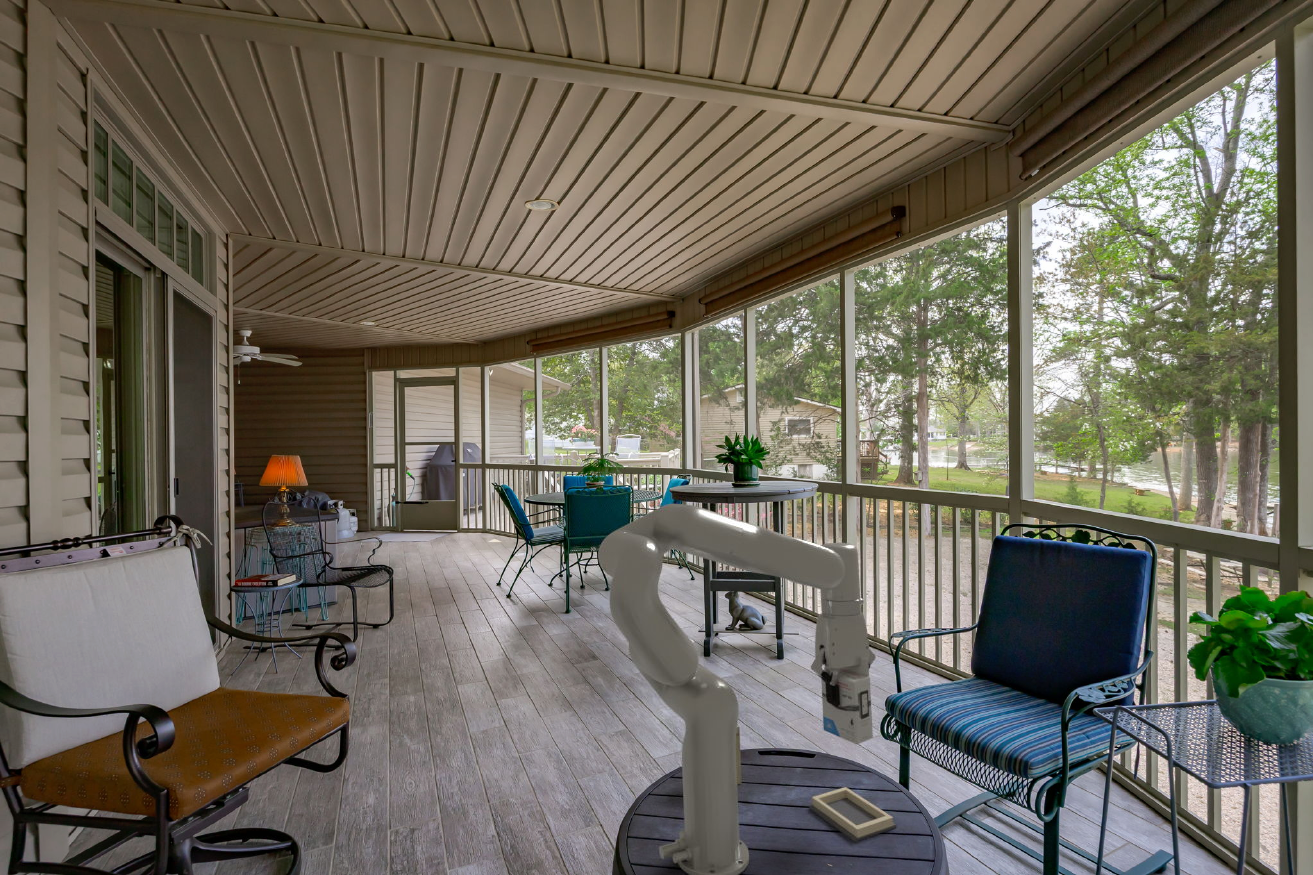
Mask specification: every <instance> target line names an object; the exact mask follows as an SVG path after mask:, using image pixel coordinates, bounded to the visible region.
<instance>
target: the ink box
mask: <svg viewBox="0 0 1313 875" xmlns="http://www.w3.org/2000/svg"><path fill="white" fill-rule="evenodd" d="M868 664H869V663H868V661H867V660H865V659H861V664H860V665H858V666H853V667H848V668H843V669H839V672H838V677H837V682H836V684H837V685H839V695H840V705H839V706H837V707H836V706H834V705H832V704H830V703H828V702H827V699H826V685H825V682H824V681H823V680H822V679H821V678H820V680H821V696H822V697H821V700H822V701H821V702H822V722H823V723H822V724H823V725H822V726H823V731H825V732H827V733H829V734H831V735H834V736H836V737H838V738H841V739H843V740H845V741H848V742H851V743H853V744H854V745H859V744H861V743H864V742H866V741H869V740H870V739H873V737H874V736H873V735H874V734H873V716H872V715H873V714H872V713H873V712H872V711H873V709H872V695H871V694H872V693H871V677H870V669H869V665H868ZM831 672H832V670H831V671H830V676H831Z"/></svg>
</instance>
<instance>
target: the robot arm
mask: <svg viewBox="0 0 1313 875" xmlns="http://www.w3.org/2000/svg"><path fill="white" fill-rule="evenodd" d="M671 550H674V551H675V550H676V551H679V552H681V553H682V552H683V553H686V554H689V555H691V556H695V557H699V558H703V559H705V560H709V561H712V562H716V563H719V564H721V565H722V564H723V565H725V566H729V567H732V568H735V569H739V570H743V571H747V572H751V573H754V574H755V573H756V574H763V575H768V576H773V577H777V578H782V579H785V580H786V581H789V582H791V583H793V584H796V585H797V584H798V585H801V586H806V587H810V588H814V589H816V590H817V589H818V590H819V593H820V607H821V608H820V609H821V610H820V611H821V613H819V614H818V615H817V619H816V626H815V635H814V636H815V637H814V638H815V639H814V640H815V641H814V647H815V648H814V652H815V653H814V655H815V656H814V657H815V659H814V661H813V662H812V663H811V666H810V669H811V671H813V672H814V673H815V674H816V675H817V676H818V677H819V678H820V680H821V679H822V680H823V681H824V682H825V685H826V699H827V702H828V703H830V704H832V705H834V706H836V707H837V706H839V705H840V695H839V685H837V684H836V682H837V677H838V672H839V669H843V668H848V667H853V666H858V665H860V664H861V659H865V660H867V661H868V663H869V664H868V665H869V670H870V669H871V665H872V664H873V663H874V661H875V660H876V655H875V653H874V652H873V651H872V650H871V649H870V642H869V635H868V634H869V633H868V629H867V624H866V619H865V615H864V613H863V612H862V606H863V605H864V603H865V602H864V598H861V588H860V587H861V586H860V585H861V584H860V582H861V581H860V570H859V569H860V568H859V566H860V565H859V551H858V548H857V547H856V546H855V545H854V544H852V543H847V542H830V543H823V544H821V545H819V544H815V543H813V542H810V541H806V540H803V539H800V538H796V537H793V536H790V535H787V534H782V533H780V532H776V531H774V530H771V529H768V528H766V527H764V526H759V525H756V524H752V523H749V522H745V521H744V520H740V519H737V518H734V517H731V516H727V515H724V514H721V513H719V512H715V511H712V510H709V509H707V508H703V507H700V506H697V505H693V504H684V503H683V504H682V503H669V504H665V505H662V506H660V507H657V508H656V509H654V510H652V511H650V512H649V513H646V514H644V515H643V516H641V517H639V518H637V519H635V520H633V521H632V522H629V523H627V524H626V525H624V526H621V527H620V528H618V529H616V530H614V531H612V532H611V533H610V534H608V535H607V536H606V537H605V538H604V539H603V540H602V542H601V544H600V546H599V549H598V552H597V553H598V556H597V557H598V559H597V560H598V562H599V566H600V567H601V569H602V570H603V571H604V572H605V573H606V574H607V575H609V576H610V577H612V580H611V583H610V586H609V587H610V588H609V610H610V614H611V617H612V619H613V621H614V623H615V625H616V627H617V629H618V630H619V631H620V632H621V633H622V635H623V637H624V638H625V639H626V641H627V642H628V652H629V656H630V658H631V661H632V663H633V664H634V666H635V667H636V669H637V670H638V671H639V673H640V674H641V675H642V676H643V678H644V679H645V680H646V681H647V683H648V684H649V685H650V686H651V688H652V689H653V690H654V691H655V693H656V694H657V695H658V696H659V698H660V699H661V700H662V701H663V702H664V704H665V706H667V707H668V708H669V709H670V710H672V712H674V713H675V714H676V715H677V716H679V717H680V718H681V719H682V720H683V721H684V724H685V731H684V736H683V740H682V746H681V769H682V793H683V794H682V795H683V796H682V797H683V820H684V823H683V824H684V829H683V830H680V831H679V838H677V839H675V840H674V842H671V843H667V844H662V845H659V847H658V850H659V856H660V858H661V859H662V860H664V859H669V858H671V857H672V861H673V863H674V864H678V866H679V868H681V870H682V871H683V872H684V873H686V874H687V875H740V874H741V873H743V872H744V871H745V870H746V868H747V867H748V865H749V863H750V852H749V848H748V846H747V845H746V844H745V842H744V841H742V840H741V839H740V822H739V802H738V801H739V799H738V798H739V796H738V784H737V772H736V730H737V724H738V722H739V714H740V713H739V708H740V707H739V700H738V697H737V695H736V692H735V691H734V689H733V688H732V687H731V685H730V684H729V683H728V682H727V681H726V680H724V679H723V678H721V677H720V676H718V675H716V674H715V673H714V672H712V671H710V670H708V669H706V668H704V666H703V667H702V666H701V665H700V664H699V662H700V661H699V654H698V651H697V648H696V646H695V645H694V643H693V641H692V640H691V639H690V637H689V636H688V635H687V634H686V633H685V632H684V630H683V629H682V628H681V627H680V625H679V623H677V621H676V620H675V619H674V618H673V616H672V615H671V613H669V611H668V610H667V608H666V606H665V605H664V604H663V602H662V601H661V599H660V596H659V590H658V589H659V583H660V582H659V581H660V577H661V574H662V571H663V570H662V569H663V563H664V562H663V559H664V558H663V555H664V554H666V553H668V552H670V551H671ZM823 666H824V667H823ZM831 670H832V672H831V676H830V671H831Z"/></svg>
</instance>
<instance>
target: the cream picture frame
mask: <svg viewBox="0 0 1313 875" xmlns="http://www.w3.org/2000/svg"><path fill="white" fill-rule="evenodd" d="M811 802H812V803H811V804H810V805H809V807H808V808H809V809H810V810H811V811H812V812H813V813H815V814H816V815H818V816H819V817H821V819H822V820H825V822H827V823H828V824H829V825H830V826H831V825H832V827H834V828H835V829H837V830H838V831H839V832H841V833H842V834H843V835H844V836H846V837H847V838H849V839H850V840H851V841H853V842H854V843H856V842H859V841H861V840H864V839H867V838H871V837H872V836H876V835H879V834H881V833H884V832H887V831H890V830H893V829H895V828H897V824H896V823H895V822H894V817H893V816H892V815H890V814H888V813H887V812H885V811H884V810H882V809H881V808H879V807H878V806H876V805H875V804H873V803H871V802H870V801H868V800H866V799H865V798H863V797H862V796H860V794H857V793H856V792H854V791H852V789H850V788H848V787H847V786H844V787H841V788H838V789H834V790H832V791H828V792H824V793H820V794H818V795H815V796H812V797H811Z"/></svg>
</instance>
